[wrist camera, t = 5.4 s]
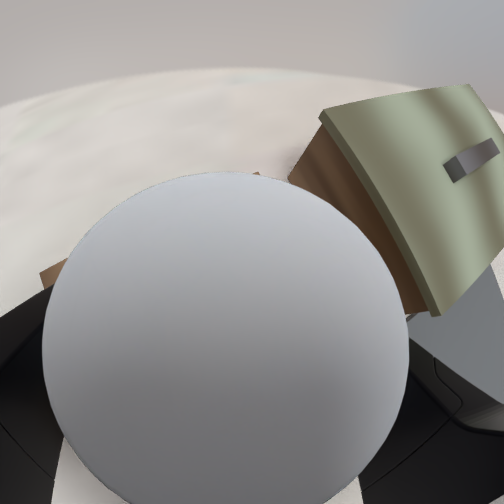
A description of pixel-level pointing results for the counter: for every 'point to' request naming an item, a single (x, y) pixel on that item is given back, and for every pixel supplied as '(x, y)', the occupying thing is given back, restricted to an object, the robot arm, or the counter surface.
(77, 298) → the pill bottle
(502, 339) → the slate mat
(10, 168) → the counter surface
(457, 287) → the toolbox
